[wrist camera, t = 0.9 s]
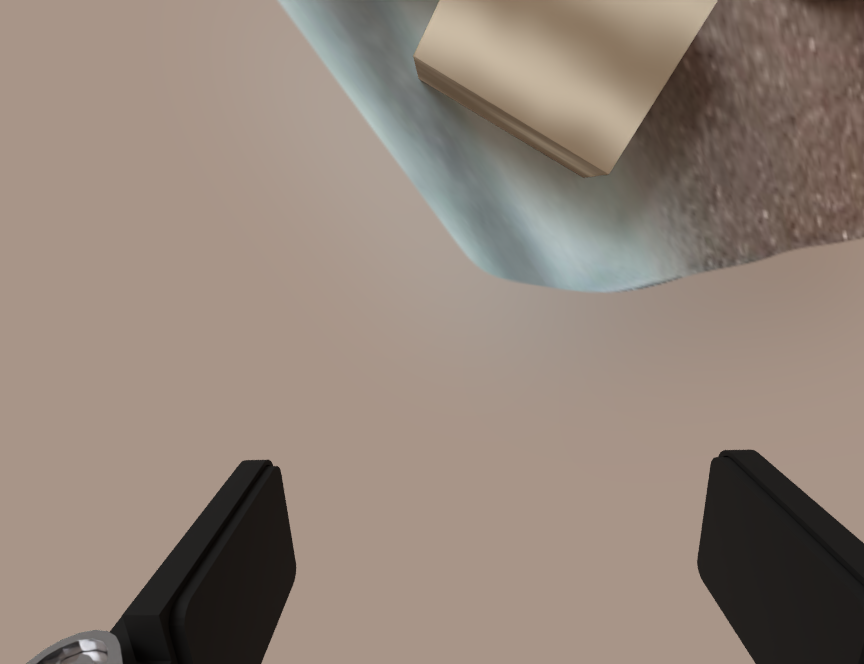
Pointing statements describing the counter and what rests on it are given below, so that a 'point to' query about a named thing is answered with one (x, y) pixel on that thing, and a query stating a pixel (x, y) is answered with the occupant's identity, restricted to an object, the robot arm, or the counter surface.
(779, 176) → the counter surface
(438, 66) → the birch block
